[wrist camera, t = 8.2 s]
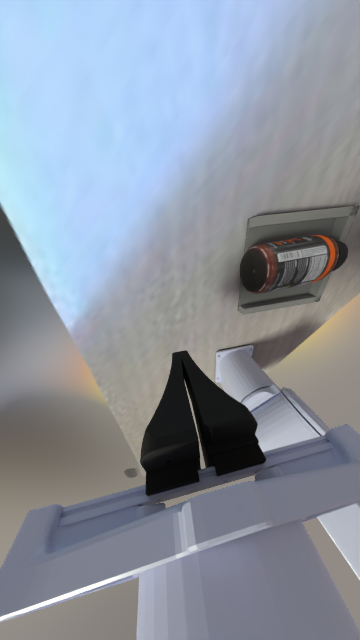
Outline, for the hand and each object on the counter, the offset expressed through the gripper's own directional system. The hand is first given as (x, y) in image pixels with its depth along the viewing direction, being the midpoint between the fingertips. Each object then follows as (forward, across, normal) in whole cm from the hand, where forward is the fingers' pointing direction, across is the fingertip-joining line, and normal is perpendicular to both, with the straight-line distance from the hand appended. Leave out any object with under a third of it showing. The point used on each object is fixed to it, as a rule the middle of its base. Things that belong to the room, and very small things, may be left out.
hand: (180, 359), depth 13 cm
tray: (+10, -19, -5) cm, 22 cm away
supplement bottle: (+7, -11, -6) cm, 14 cm away
